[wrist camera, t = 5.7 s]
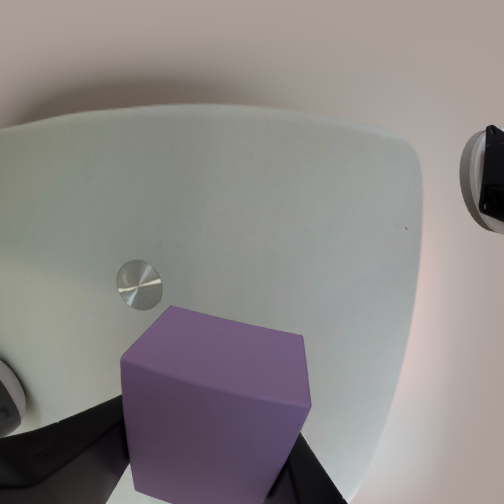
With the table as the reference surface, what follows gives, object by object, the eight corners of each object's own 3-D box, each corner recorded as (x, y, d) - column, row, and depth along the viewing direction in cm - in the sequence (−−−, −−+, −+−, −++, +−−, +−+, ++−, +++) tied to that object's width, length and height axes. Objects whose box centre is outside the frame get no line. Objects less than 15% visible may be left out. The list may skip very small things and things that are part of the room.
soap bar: (170, 303, 8) (118, 357, 5) (303, 334, 8) (313, 405, 5) (162, 434, 10) (134, 491, 6) (260, 458, 9) (252, 522, 6)
